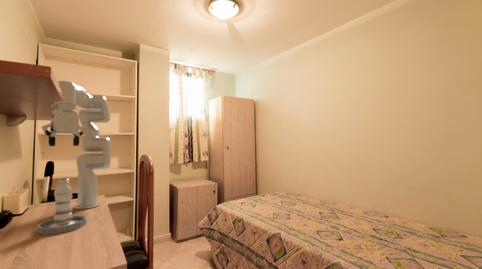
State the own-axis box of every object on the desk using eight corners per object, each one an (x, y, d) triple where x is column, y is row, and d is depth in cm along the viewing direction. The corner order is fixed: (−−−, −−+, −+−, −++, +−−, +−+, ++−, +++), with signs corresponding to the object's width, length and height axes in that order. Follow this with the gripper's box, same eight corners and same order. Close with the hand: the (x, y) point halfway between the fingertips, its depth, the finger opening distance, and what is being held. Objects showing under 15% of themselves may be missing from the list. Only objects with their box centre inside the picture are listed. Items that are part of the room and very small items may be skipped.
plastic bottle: (73, 224, 102) (74, 179, 103) (53, 227, 98) (54, 180, 99) (71, 220, 107) (72, 177, 108) (53, 224, 103) (53, 179, 104)
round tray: (28, 231, 98) (28, 225, 98) (71, 219, 113) (71, 214, 114) (51, 236, 91) (51, 230, 91) (94, 223, 106) (94, 217, 107)
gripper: (47, 105, 95) (46, 146, 95) (89, 110, 111) (89, 145, 110) (37, 106, 99) (36, 146, 98) (80, 111, 114) (79, 145, 114)
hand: (64, 145), depth 104 cm, fingers open, 9 cm apart
